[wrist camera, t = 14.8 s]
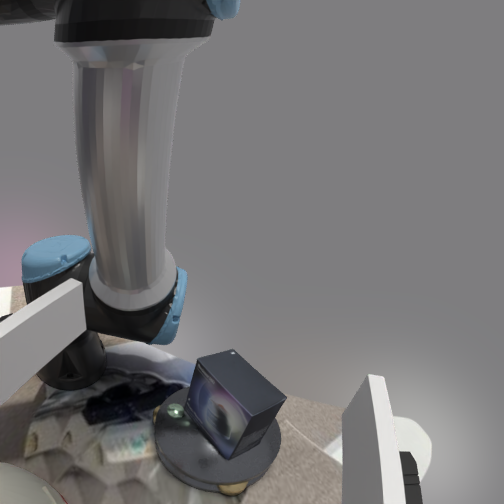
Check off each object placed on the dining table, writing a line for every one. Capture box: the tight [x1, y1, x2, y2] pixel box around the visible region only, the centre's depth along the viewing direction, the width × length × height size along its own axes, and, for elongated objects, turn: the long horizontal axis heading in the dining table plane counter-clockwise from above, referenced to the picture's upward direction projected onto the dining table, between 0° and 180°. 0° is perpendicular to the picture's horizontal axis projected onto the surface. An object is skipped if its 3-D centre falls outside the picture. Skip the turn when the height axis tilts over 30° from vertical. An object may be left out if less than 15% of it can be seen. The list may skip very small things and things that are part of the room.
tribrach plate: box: [153, 387, 281, 496], centre depth 36 cm, size 19×18×5 cm
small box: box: [184, 349, 287, 460], centre depth 34 cm, size 11×6×10 cm, turn 42°
